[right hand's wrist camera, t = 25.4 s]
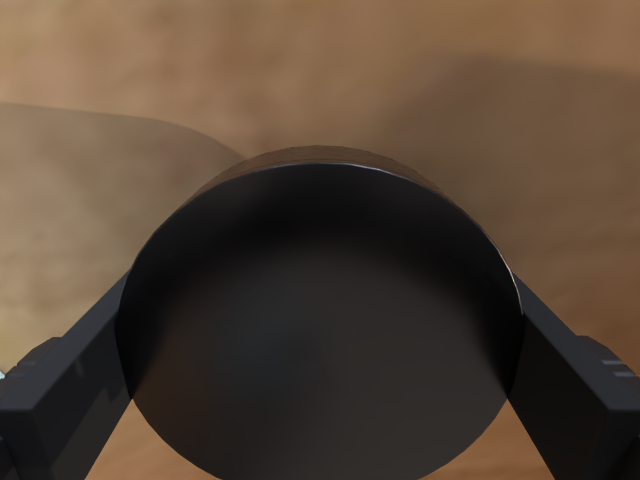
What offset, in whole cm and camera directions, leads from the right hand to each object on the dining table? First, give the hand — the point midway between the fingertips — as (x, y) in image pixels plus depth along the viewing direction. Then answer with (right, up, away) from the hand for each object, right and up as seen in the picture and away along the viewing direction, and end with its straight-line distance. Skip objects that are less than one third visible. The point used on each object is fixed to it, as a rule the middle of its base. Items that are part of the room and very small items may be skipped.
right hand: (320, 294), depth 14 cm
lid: (0, -1, -3) cm, 3 cm away
